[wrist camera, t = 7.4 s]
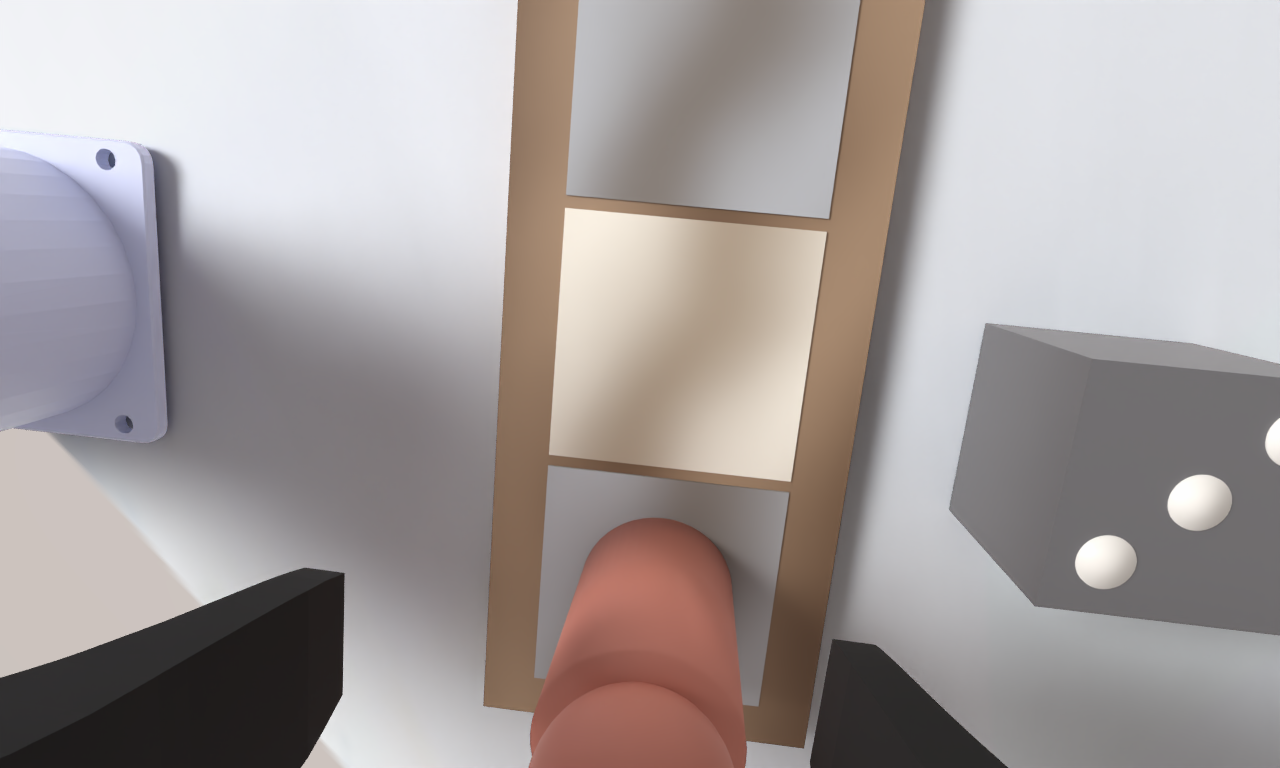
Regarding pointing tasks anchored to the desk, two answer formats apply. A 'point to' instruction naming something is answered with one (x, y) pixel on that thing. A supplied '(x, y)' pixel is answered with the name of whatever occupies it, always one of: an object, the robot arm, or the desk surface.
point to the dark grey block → (1126, 476)
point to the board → (691, 308)
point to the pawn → (645, 658)
